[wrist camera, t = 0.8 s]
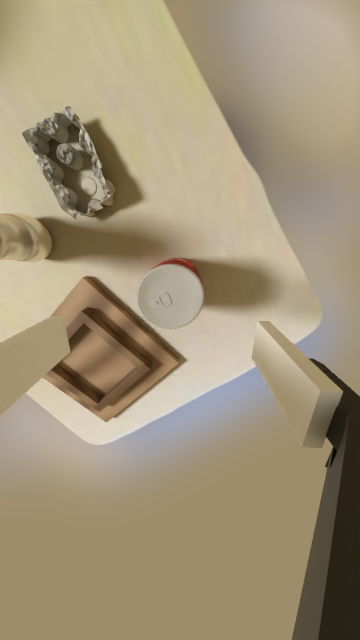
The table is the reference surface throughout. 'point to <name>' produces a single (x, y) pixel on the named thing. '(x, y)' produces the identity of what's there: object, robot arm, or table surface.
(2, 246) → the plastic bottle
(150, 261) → the table surface
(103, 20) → the table surface
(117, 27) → the table surface
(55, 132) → the egg carton
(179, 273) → the canned food
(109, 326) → the walnut holder
